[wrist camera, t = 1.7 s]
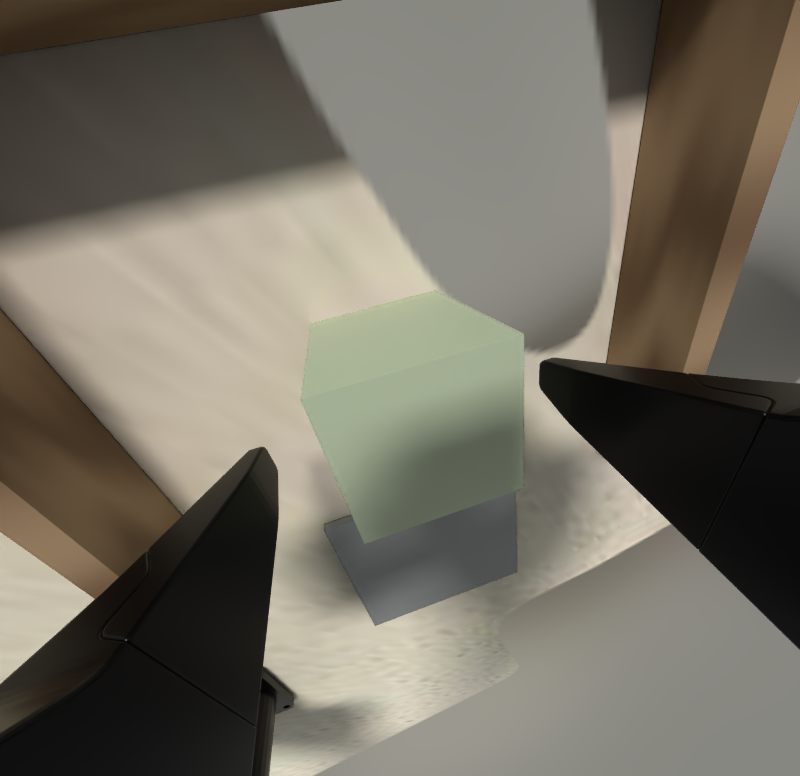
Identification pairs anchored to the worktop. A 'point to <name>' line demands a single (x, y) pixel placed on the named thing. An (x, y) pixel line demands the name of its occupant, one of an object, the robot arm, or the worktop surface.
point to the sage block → (416, 409)
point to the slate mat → (428, 557)
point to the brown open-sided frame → (638, 287)
